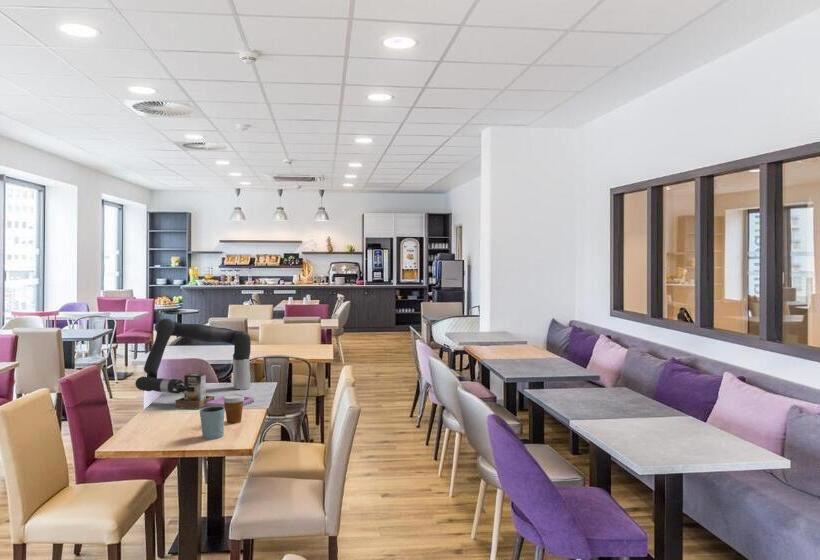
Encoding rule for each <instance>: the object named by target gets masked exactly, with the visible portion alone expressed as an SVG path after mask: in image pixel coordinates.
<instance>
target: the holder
mask: <svg viewBox="0 0 820 560" xmlns="http://www.w3.org/2000/svg"><path fill="white" fill-rule="evenodd" d="M214 399H215V396H214V395H206V399H204V400H202V401H199V402H196V401H184V397H181V398H177V399H175V400H174V403H175V404H174V405H175V406H174V407H175V408H180V407H183V408H182V409H191V408H197V409H196V410H200V409H199V408H201V409H202V407H203V408H205V406H206V403H207V402H209V401H212V400H214Z"/></svg>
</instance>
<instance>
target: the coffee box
mask: <svg viewBox="0 0 820 560" xmlns="http://www.w3.org/2000/svg"><path fill="white" fill-rule="evenodd" d="M206 376H207V375H206V373H201V372H200V373H199V372H198V373H197V372H189V373H186V374H185V375H184V377H183V378H184V381H183V383H184V387H194V392H188V391H187V392H183V393H184V401H196V402H199V401H202V400H204V399H206V396H207V390H206V389H207V387H206V385H207V384H206V383H207V382H206V380H207V379H206V378H207V377H206Z"/></svg>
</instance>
